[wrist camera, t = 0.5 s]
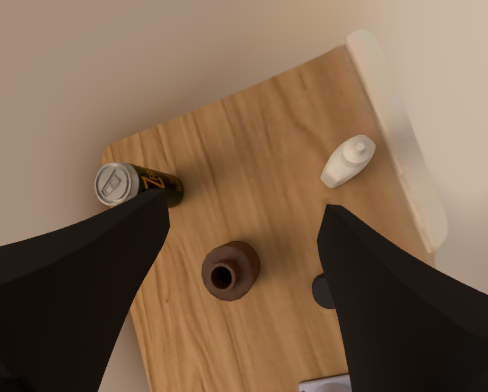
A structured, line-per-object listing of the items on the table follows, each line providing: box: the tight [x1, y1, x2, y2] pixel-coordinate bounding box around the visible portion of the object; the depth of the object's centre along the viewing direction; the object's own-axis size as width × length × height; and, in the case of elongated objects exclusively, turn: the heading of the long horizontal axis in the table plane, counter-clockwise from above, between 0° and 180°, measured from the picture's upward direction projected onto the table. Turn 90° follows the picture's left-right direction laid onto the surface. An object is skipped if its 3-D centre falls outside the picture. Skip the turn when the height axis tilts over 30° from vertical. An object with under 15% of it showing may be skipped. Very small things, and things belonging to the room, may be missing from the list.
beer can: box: [94, 162, 184, 208], centre depth 32 cm, size 5×5×12 cm
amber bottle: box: [202, 241, 260, 301], centre depth 31 cm, size 7×7×7 cm
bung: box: [312, 274, 335, 309], centre depth 30 cm, size 4×4×3 cm
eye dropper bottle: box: [320, 134, 376, 188], centre depth 26 cm, size 4×6×12 cm
